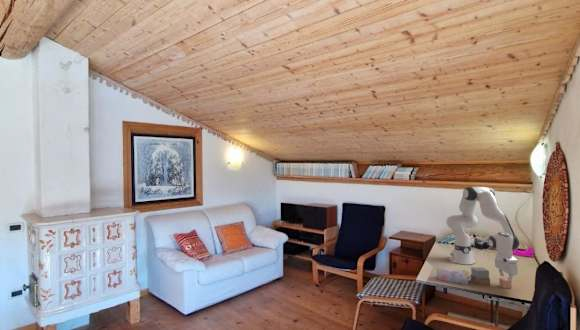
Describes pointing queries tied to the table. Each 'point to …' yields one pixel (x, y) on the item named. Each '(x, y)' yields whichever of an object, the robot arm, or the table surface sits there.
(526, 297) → the table surface
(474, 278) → the tower bottom
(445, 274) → the pencil case
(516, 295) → the table surface
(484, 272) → the tower top
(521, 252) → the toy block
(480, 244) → the camera
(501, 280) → the terracotta cube
